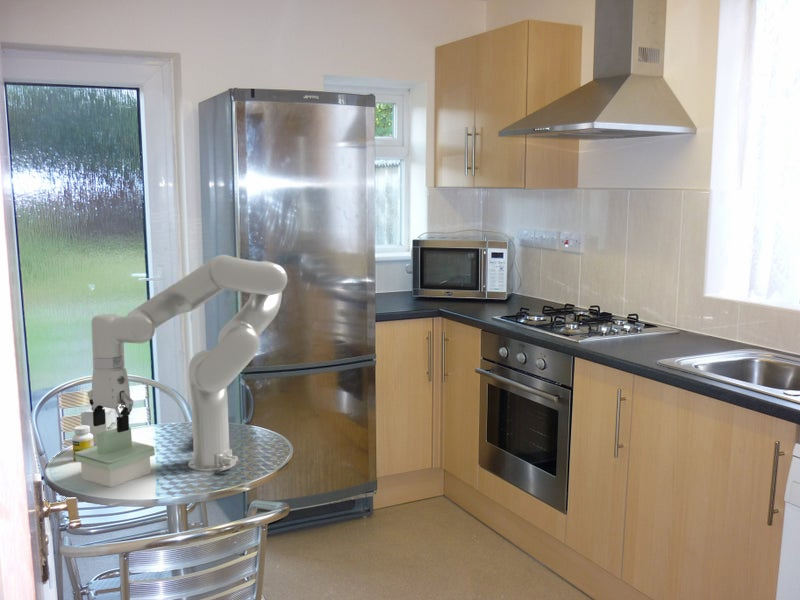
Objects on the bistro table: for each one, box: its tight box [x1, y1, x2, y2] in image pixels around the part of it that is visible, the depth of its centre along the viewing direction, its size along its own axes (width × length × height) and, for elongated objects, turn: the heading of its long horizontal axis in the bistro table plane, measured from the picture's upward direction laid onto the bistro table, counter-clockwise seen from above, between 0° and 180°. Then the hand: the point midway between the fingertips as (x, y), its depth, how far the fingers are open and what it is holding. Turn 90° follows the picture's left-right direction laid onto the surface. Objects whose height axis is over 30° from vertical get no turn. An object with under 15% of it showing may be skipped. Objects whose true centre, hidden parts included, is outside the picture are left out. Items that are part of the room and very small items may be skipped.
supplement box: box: [80, 405, 117, 447], centre depth 220 cm, size 7×7×13 cm
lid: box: [75, 426, 156, 471], centre depth 196 cm, size 14×14×7 cm
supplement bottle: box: [71, 424, 94, 462], centre depth 211 cm, size 5×5×10 cm
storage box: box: [80, 457, 151, 488], centre depth 197 cm, size 12×12×7 cm
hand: (111, 428), depth 195 cm, fingers open, 9 cm apart
